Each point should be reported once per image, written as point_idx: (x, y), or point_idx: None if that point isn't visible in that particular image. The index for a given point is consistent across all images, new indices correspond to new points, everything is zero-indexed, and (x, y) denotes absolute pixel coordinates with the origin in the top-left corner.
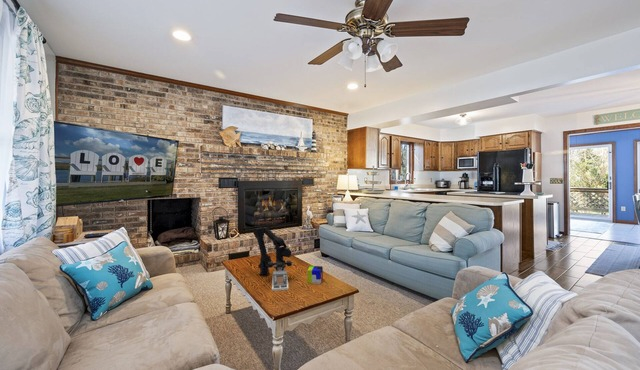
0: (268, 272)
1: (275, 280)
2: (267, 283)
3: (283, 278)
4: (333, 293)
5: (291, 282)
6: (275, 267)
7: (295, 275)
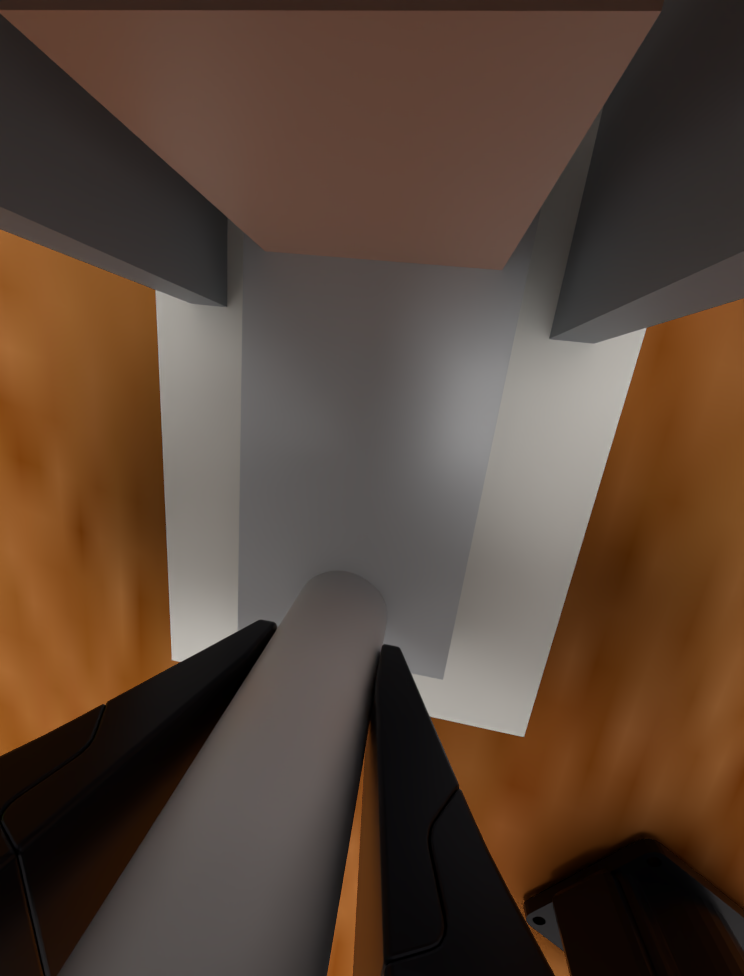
0: (580, 937)
1: (506, 434)
2: (733, 426)
3: (253, 409)
4: None
5: (112, 304)
6: None
7: (54, 641)
